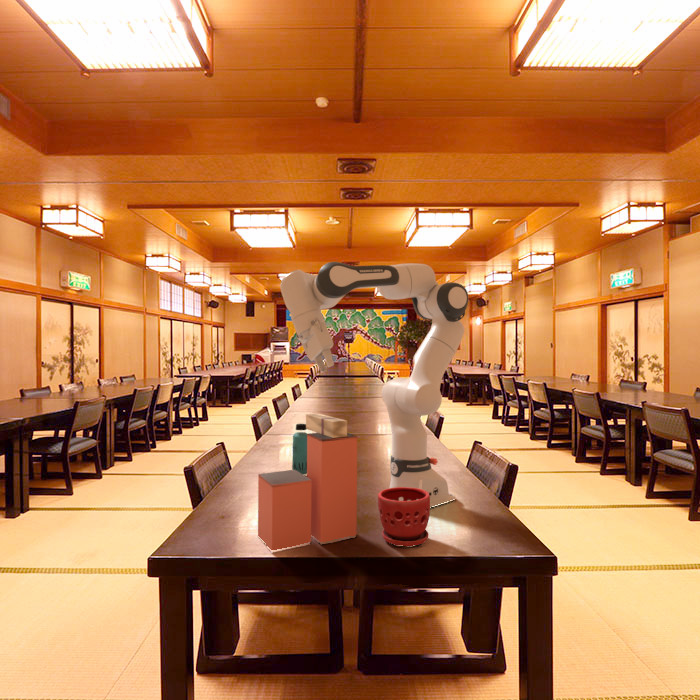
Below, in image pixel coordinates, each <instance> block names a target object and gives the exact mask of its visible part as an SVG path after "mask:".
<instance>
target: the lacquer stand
mask: <svg viewBox="0 0 700 700" xmlns="http://www.w3.org/2000/svg"><path fill="white" fill-rule="evenodd" d="M257 479H258V483H257V484H258V488H257V489H258V491H257V496H258V499H257V537H258V536H259V537H260V538H261V539H262V540H263V541H264V542H265V543H266V545H267V546H268V547H269V548H270V549H271V550H277V549H282V548H287V547H292V546H296V545H300V544H304V543H308V542H311V543H312V537H311V535H312V536H314V537H315V538H316V539H317V540H319V541H320V542H326V541H331V540H334V539H339V538H344V537H348V536H354V535H358V532H357V531H358V529H357V524H358V520H357V517H358V514H357V513H358V509H357V508H358V435H354V434H352V433H349V432H347V437H336V438H332V437H329V436H326V435H322V434H320V433H317V432H312V433H311V432H310V433H307V474H306V475H305V474H304V475H303V474H301V473H300V472H298V471H296V470H292V469H289V470H281V471H273V472H265V473H264V472H263V473H258V478H257ZM259 537H258V538H259ZM260 538H259V539H260Z"/></svg>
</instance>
